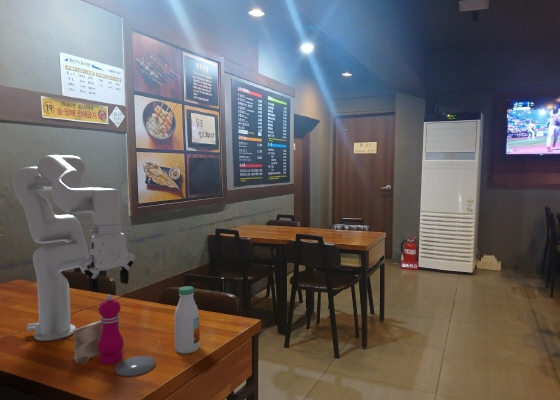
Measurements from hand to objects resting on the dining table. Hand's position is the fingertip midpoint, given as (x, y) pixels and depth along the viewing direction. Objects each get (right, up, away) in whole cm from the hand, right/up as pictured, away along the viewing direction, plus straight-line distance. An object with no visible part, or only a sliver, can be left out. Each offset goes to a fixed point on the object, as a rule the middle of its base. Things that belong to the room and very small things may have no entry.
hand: (109, 287), depth 116 cm
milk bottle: (+21, -22, +9) cm, 32 cm away
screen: (-6, -22, +6) cm, 24 cm away
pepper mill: (0, -23, +2) cm, 23 cm away
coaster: (+9, -23, -3) cm, 24 cm away
